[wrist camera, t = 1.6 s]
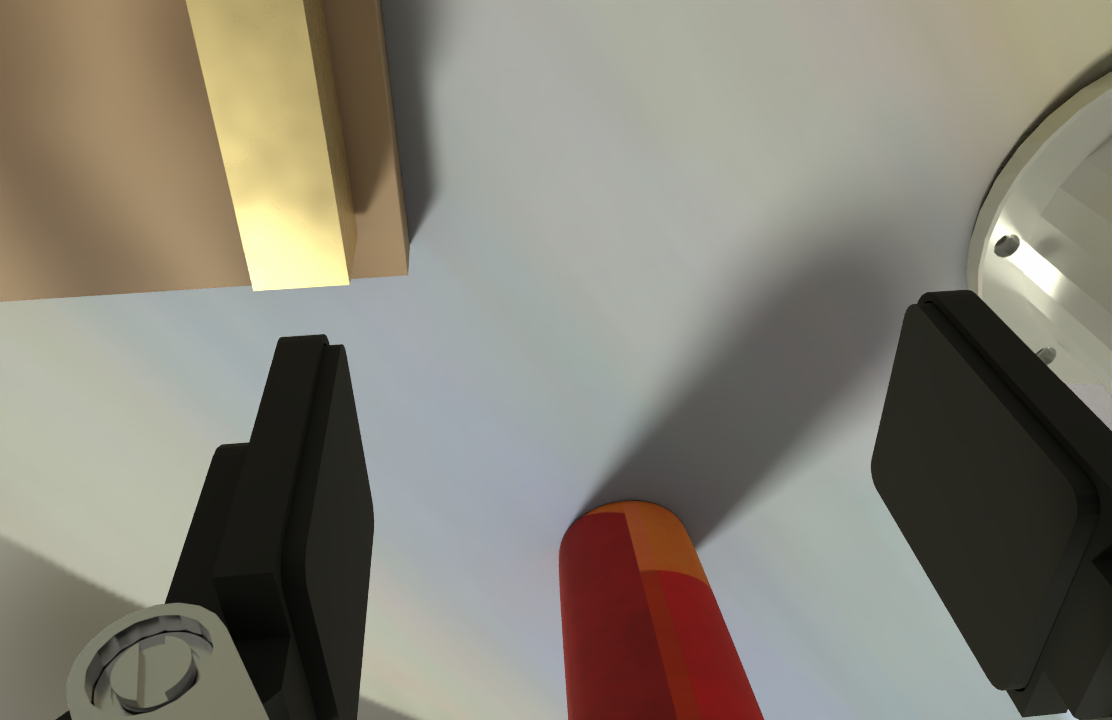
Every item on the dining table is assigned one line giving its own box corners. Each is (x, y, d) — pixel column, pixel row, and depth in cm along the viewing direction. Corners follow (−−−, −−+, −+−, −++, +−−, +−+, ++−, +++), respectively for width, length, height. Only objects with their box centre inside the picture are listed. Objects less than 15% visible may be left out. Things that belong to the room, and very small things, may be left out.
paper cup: (540, 620, 40) (581, 967, 29) (525, 492, 36) (565, 840, 25) (712, 597, 41) (820, 931, 29) (718, 468, 37) (847, 800, 25)
